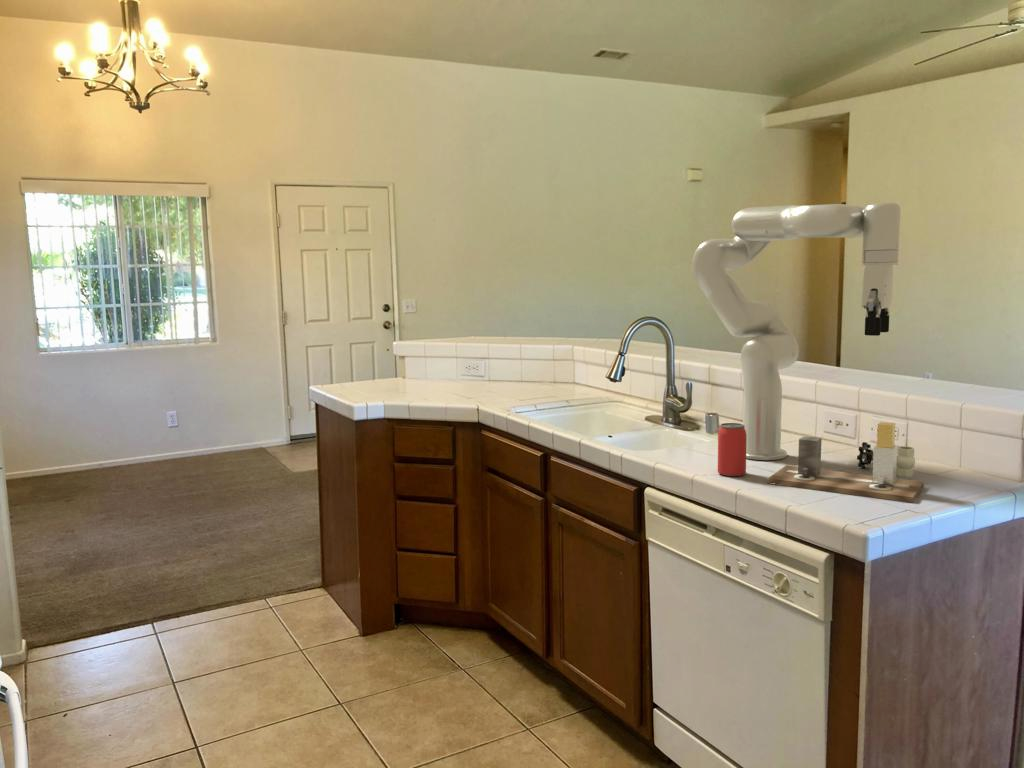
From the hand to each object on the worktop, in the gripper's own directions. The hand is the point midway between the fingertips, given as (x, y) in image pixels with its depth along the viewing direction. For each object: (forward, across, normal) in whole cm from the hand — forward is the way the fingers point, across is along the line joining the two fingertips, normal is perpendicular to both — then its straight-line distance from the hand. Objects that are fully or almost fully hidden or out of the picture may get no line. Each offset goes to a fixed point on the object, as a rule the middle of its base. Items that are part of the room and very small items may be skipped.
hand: (876, 333), depth 182 cm
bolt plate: (+33, +13, -3) cm, 36 cm away
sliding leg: (+32, +13, +5) cm, 35 cm away
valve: (+34, -4, +3) cm, 34 cm away
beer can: (+34, +16, -28) cm, 46 cm away
